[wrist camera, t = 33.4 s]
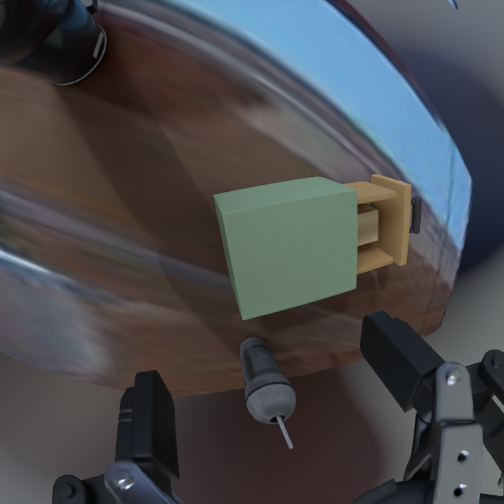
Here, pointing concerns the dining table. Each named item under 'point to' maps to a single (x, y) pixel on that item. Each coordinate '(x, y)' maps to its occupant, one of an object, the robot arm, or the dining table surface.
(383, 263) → the drawer
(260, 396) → the beverage cup
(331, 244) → the cabinet
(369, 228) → the block
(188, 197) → the dining table surface
